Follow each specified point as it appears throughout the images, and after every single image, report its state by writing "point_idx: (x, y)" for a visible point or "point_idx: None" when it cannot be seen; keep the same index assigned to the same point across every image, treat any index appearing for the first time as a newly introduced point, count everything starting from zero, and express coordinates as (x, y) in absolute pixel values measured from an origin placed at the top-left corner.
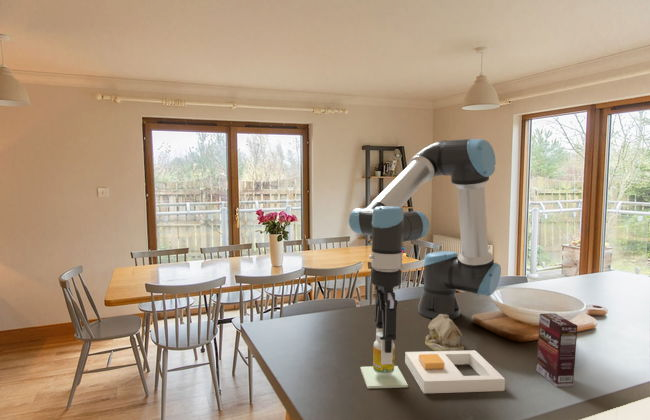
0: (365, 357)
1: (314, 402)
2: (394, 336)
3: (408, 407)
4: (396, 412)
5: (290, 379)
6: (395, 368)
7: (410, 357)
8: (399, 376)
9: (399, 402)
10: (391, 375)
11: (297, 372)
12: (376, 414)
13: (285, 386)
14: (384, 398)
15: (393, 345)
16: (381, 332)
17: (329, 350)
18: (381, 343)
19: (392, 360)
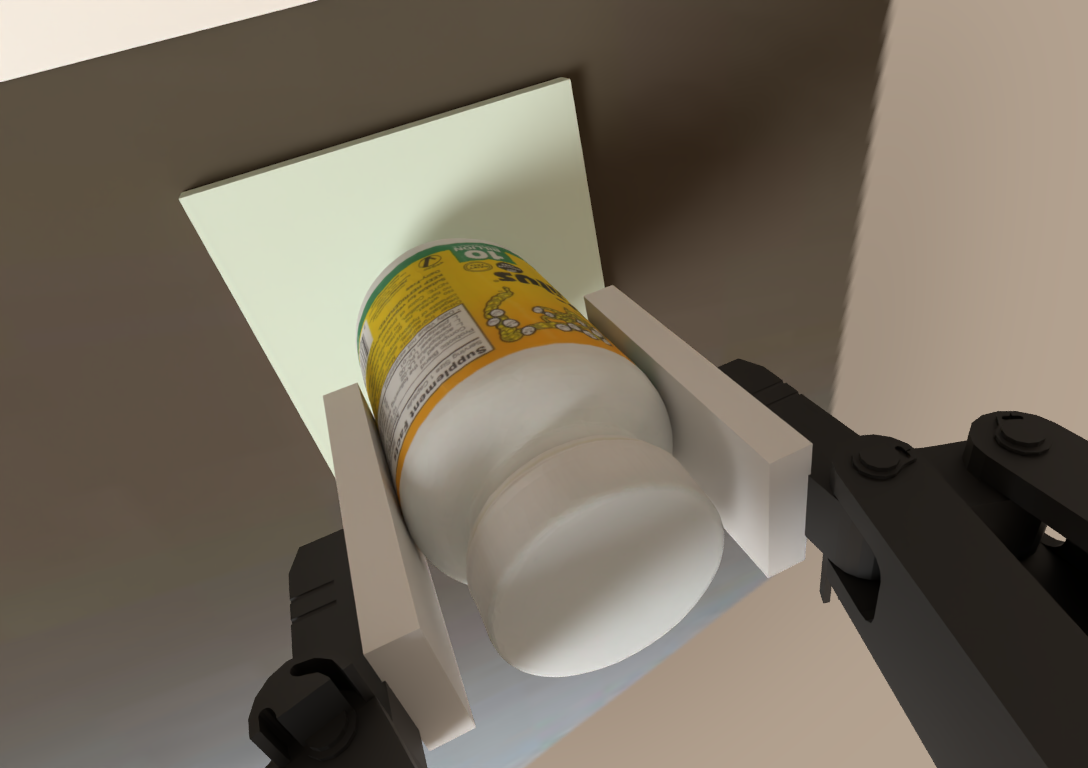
0: (80, 514)
1: (740, 547)
2: (1077, 458)
3: (815, 82)
4: (851, 166)
5: (567, 700)
6: (262, 214)
7: (75, 30)
8: (427, 164)
9: (759, 149)
10: (429, 241)
11: (495, 715)
12: (851, 276)
13: (626, 683)
14: (715, 254)
15: (609, 372)
16: (553, 640)
17: (103, 753)
18: (724, 519)
19: (557, 295)
